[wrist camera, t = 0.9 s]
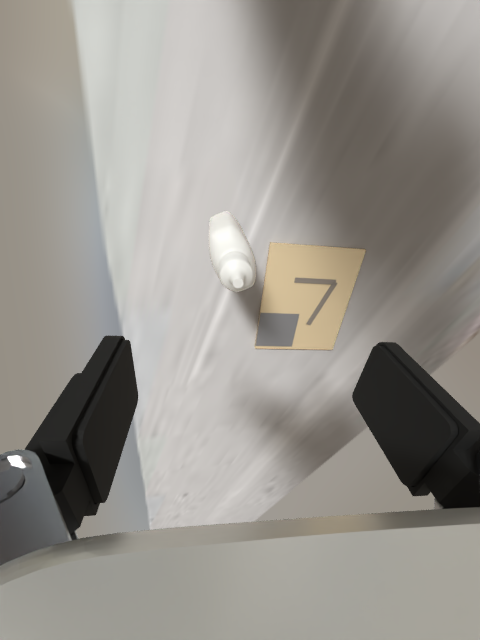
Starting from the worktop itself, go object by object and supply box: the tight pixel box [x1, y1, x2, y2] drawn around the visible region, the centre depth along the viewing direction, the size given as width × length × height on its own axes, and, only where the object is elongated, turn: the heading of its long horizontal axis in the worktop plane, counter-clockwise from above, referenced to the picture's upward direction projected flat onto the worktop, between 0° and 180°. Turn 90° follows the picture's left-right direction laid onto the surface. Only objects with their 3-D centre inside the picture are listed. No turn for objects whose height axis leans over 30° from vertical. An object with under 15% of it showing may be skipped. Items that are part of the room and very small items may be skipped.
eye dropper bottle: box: [209, 211, 256, 292], centre depth 22 cm, size 4×6×12 cm
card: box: [255, 242, 366, 350], centre depth 32 cm, size 14×11×1 cm
